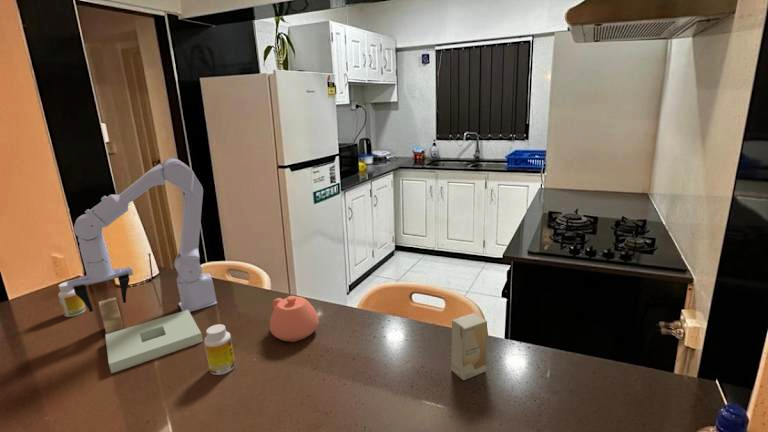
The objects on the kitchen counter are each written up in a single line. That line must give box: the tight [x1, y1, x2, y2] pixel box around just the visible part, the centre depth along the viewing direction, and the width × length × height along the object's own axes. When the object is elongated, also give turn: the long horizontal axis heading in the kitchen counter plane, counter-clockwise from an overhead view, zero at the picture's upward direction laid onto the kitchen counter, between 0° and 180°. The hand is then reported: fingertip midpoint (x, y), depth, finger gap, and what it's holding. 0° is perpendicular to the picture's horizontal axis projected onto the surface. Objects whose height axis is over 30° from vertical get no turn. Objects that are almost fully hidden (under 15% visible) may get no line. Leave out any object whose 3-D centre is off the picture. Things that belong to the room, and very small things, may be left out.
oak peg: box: [98, 297, 124, 335], centre depth 114 cm, size 4×4×8 cm
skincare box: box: [450, 312, 488, 381], centre depth 88 cm, size 6×4×12 cm
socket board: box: [104, 310, 204, 374], centre depth 107 cm, size 20×16×2 cm
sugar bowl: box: [269, 295, 320, 343], centre depth 107 cm, size 12×14×10 cm
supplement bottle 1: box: [58, 281, 87, 318], centre depth 124 cm, size 5×5×10 cm
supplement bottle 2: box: [203, 323, 236, 376], centre depth 94 cm, size 6×6×10 cm
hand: (108, 305), depth 113 cm, fingers open, 7 cm apart
